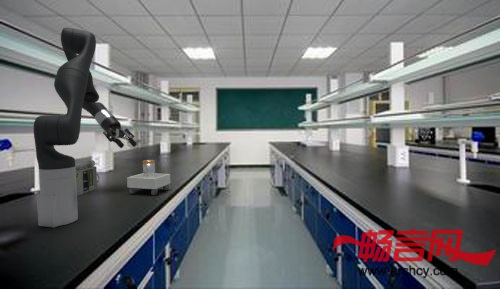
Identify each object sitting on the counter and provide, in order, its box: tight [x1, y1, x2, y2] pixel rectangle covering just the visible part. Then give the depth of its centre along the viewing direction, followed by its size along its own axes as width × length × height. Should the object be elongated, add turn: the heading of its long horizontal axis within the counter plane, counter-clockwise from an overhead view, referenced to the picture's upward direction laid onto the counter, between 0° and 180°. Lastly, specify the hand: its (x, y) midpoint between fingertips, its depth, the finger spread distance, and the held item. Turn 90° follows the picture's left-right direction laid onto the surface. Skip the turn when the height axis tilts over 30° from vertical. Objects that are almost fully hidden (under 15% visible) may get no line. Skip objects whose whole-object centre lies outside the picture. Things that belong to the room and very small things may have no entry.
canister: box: [142, 159, 156, 178], centre depth 120 cm, size 5×5×10 cm
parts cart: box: [126, 172, 171, 196], centre depth 120 cm, size 12×14×8 cm
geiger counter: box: [75, 159, 100, 197], centre depth 121 cm, size 14×6×25 cm
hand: (129, 146), depth 122 cm, fingers open, 8 cm apart
